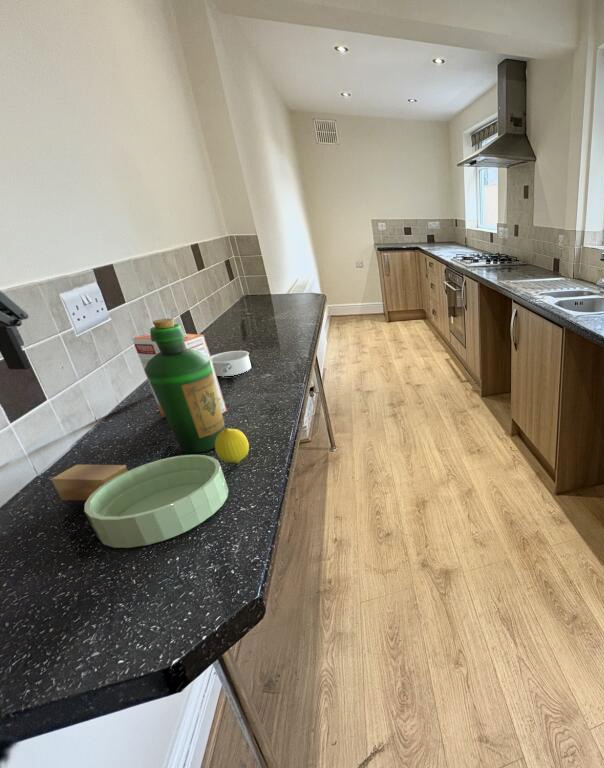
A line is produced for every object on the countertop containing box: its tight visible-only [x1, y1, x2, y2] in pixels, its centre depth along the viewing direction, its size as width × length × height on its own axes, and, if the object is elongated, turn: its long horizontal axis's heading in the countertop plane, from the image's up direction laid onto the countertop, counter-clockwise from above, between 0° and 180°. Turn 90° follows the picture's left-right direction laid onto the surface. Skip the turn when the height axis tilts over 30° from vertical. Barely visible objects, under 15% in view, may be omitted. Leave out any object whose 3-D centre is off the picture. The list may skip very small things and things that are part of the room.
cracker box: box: [131, 332, 228, 418], centre depth 100 cm, size 14×6×21 cm, turn 81°
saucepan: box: [210, 350, 252, 378], centre depth 127 cm, size 12×20×6 cm, turn 29°
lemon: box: [214, 427, 250, 464], centre depth 82 cm, size 6×6×8 cm
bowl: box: [83, 454, 229, 549], centre depth 69 cm, size 17×17×6 cm
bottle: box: [143, 318, 226, 454], centre depth 85 cm, size 11×11×28 cm
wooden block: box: [51, 463, 129, 507], centre depth 72 cm, size 9×4×6 cm, turn 88°
